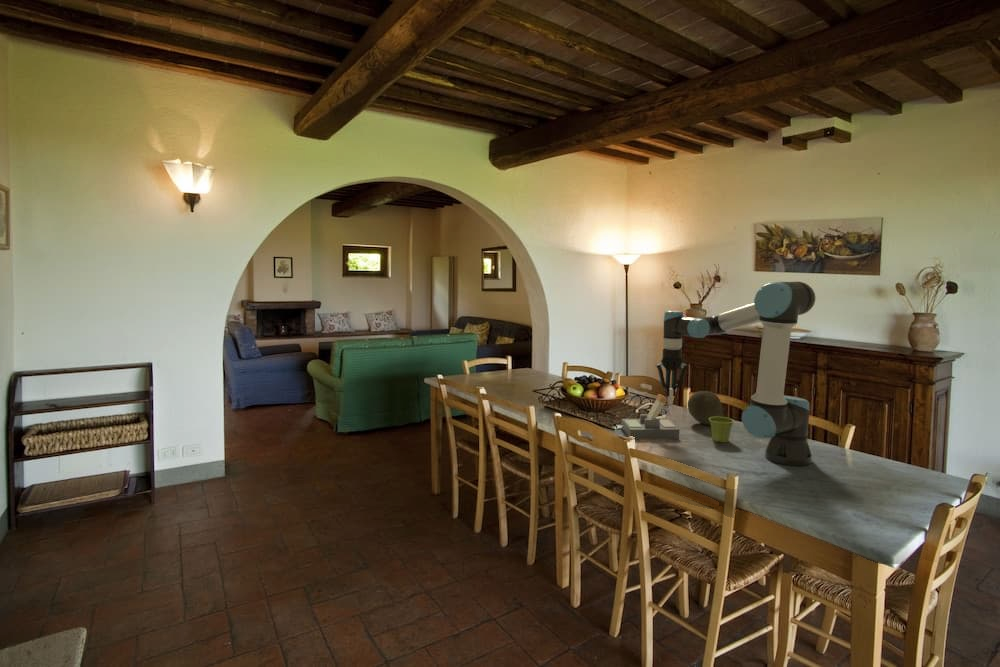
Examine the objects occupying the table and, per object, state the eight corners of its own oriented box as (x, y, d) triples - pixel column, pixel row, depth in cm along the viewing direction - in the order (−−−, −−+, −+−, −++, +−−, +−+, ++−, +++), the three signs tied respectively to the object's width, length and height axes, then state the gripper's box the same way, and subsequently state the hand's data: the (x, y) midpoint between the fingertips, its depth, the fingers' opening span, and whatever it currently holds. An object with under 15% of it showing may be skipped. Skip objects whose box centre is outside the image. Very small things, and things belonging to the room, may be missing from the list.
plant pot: (717, 444, 221) (718, 423, 220) (703, 437, 230) (704, 417, 229) (737, 443, 223) (739, 421, 222) (723, 436, 232) (724, 415, 231)
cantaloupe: (712, 419, 257) (714, 387, 255) (727, 428, 243) (728, 394, 241) (682, 420, 256) (683, 388, 254) (695, 429, 242) (696, 395, 240)
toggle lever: (652, 426, 234) (667, 399, 232) (647, 423, 233) (662, 396, 232) (649, 422, 239) (664, 396, 237) (644, 419, 239) (658, 393, 237)
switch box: (679, 438, 229) (679, 422, 228) (630, 439, 229) (630, 422, 228) (667, 427, 245) (667, 412, 244) (621, 427, 244) (621, 412, 244)
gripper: (685, 346, 236) (682, 401, 239) (654, 346, 236) (652, 401, 239) (691, 349, 229) (688, 406, 232) (659, 349, 229) (656, 406, 232)
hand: (670, 403), depth 235 cm, fingers closed
